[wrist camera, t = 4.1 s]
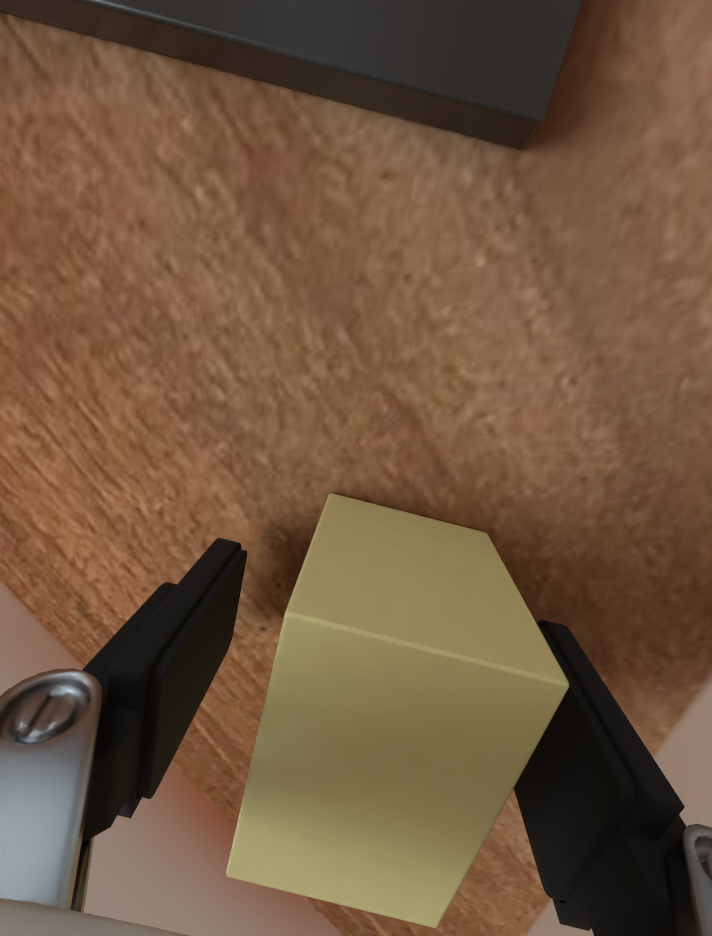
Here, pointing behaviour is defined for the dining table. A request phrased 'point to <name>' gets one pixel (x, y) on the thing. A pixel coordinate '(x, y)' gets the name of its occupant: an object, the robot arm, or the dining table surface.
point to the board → (359, 50)
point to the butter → (392, 715)
